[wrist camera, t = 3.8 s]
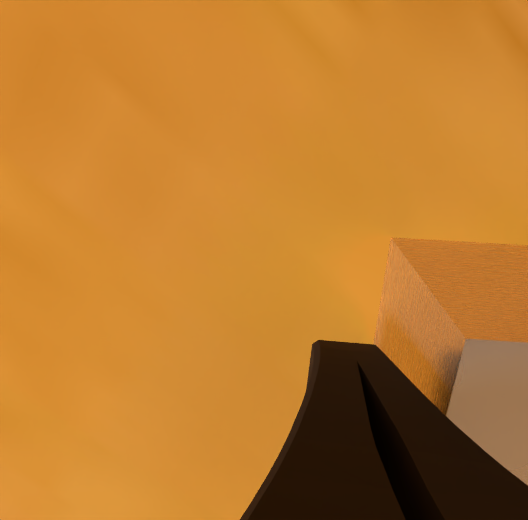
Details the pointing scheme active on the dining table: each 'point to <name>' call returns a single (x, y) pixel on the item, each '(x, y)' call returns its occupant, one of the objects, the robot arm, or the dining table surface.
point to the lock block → (463, 336)
